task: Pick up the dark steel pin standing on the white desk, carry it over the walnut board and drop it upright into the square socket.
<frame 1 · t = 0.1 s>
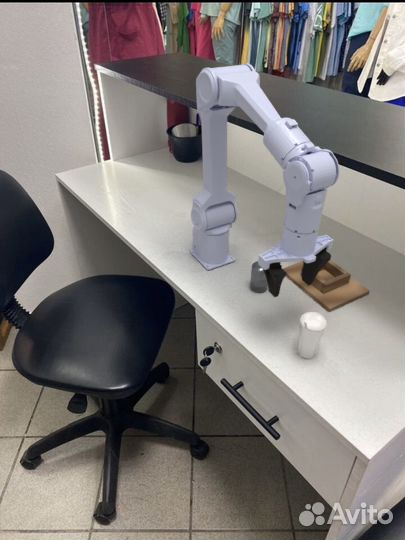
hand: (290, 287, 73), 10 cm above the table, tool pointing down, fingers open, 7 cm apart
milkshake: (304, 354, 73), on the table
pin: (258, 287, 88), on the table
socket board: (323, 282, 90), on the table
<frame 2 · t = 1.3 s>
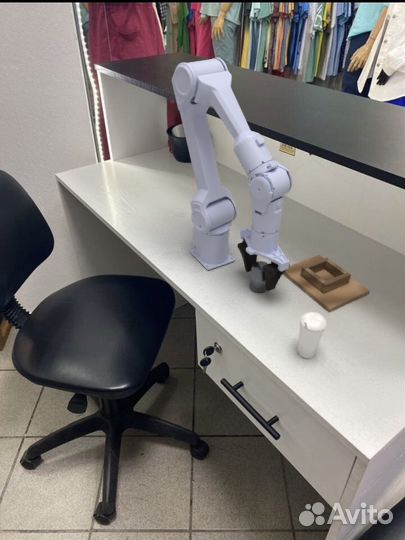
hand: (259, 279, 87), 2 cm above the table, tool pointing down, fingers open, 7 cm apart
nothing on the table moved.
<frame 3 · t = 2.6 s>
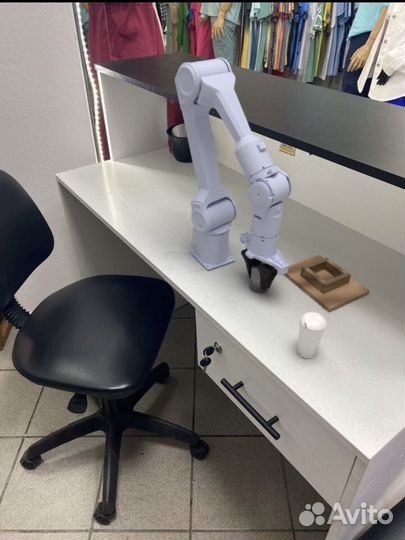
hand: (259, 282, 87), 1 cm above the table, tool pointing down, fingers closed on pin, 4 cm apart
pin: (258, 287, 88), on the table, touching gripper
everything else where it was.
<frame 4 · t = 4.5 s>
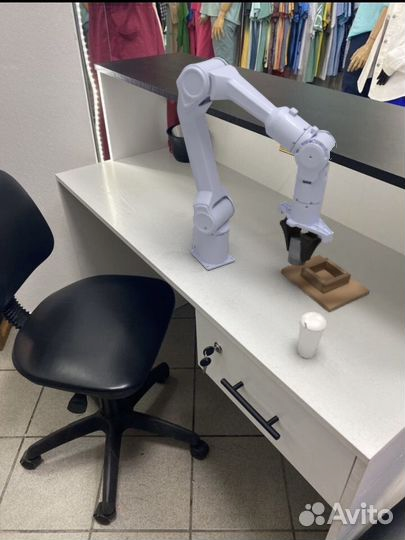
hand: (298, 254, 84), 9 cm above the table, tool pointing down, fingers closed on pin, 4 cm apart
pin: (296, 260, 85), point 7 cm above the table, touching gripper
everything else where it was.
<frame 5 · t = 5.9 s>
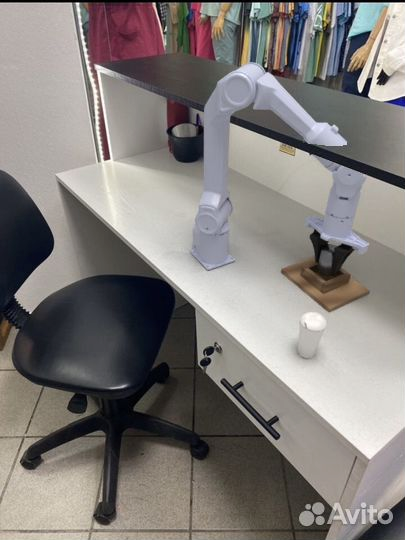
hand: (327, 265, 87), 5 cm above the table, tool pointing down, fingers closed on pin, 4 cm apart
pin: (325, 271, 88), point 3 cm above the table, touching gripper
everything else where it was.
when the fingers open (4 cm above the table, at t = 6.9 s): pin drops 2 cm, resting on socket board.
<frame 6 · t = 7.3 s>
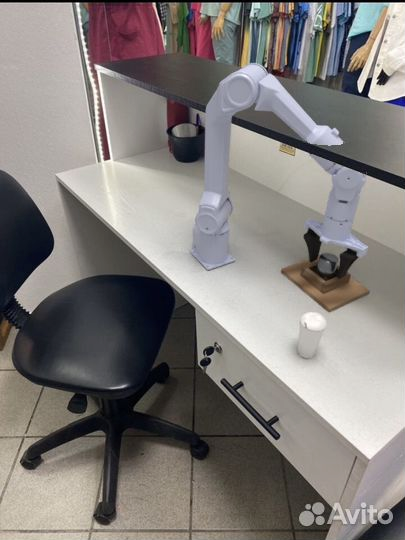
hand: (326, 268, 87), 4 cm above the table, tool pointing down, fingers open, 7 cm apart
pin: (323, 279, 89), point 1 cm above the table, touching socket board
everything else where it was.
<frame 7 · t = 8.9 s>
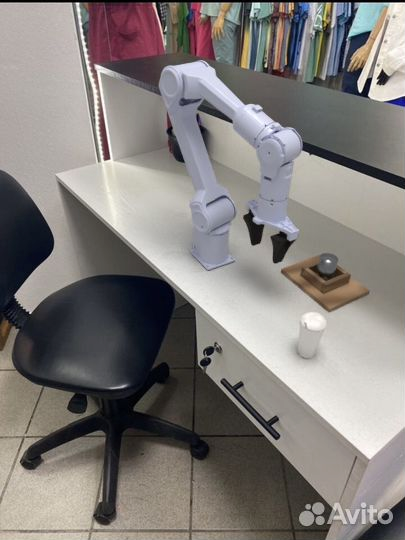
hand: (266, 252, 83), 9 cm above the table, tool pointing down, fingers open, 7 cm apart
nothing on the table moved.
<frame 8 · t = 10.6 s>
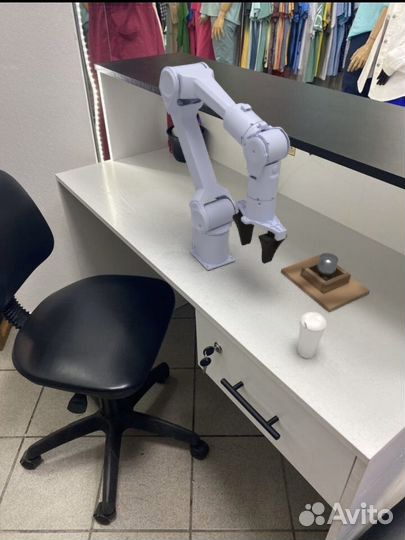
hand: (255, 252, 83), 9 cm above the table, tool pointing down, fingers open, 7 cm apart
nothing on the table moved.
at the end: pin 0.1 cm off-centre on the socket board, point 1.0 cm above the socket board's base; pin tilted 0°; the gripper is holding nothing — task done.
